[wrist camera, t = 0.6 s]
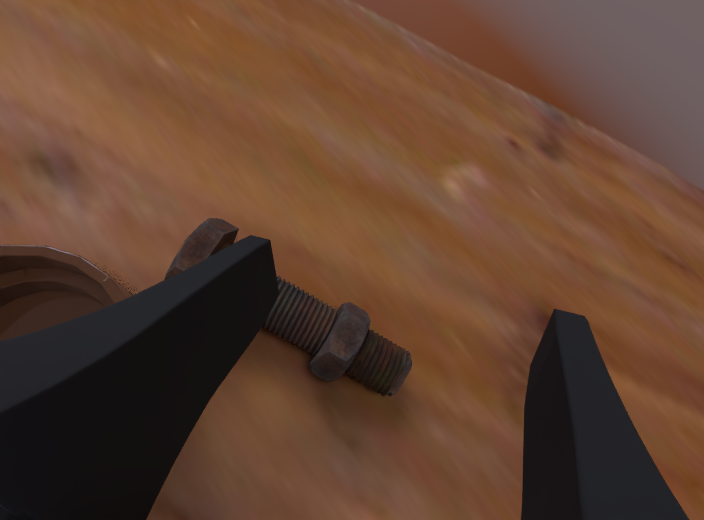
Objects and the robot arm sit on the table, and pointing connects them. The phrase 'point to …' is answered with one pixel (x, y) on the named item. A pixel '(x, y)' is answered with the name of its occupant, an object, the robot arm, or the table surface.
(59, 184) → the table surface
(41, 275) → the bowl
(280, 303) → the bolt
